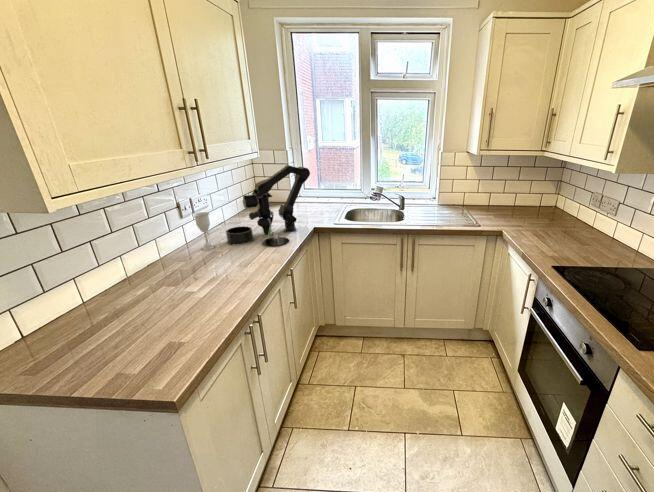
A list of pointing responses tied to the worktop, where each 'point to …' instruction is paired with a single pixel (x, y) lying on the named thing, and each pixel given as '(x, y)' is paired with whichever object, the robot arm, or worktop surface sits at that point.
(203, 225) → the chalice
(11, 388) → the worktop surface
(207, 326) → the worktop surface
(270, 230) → the block
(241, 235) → the tin
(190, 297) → the worktop surface
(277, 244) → the tin lid
